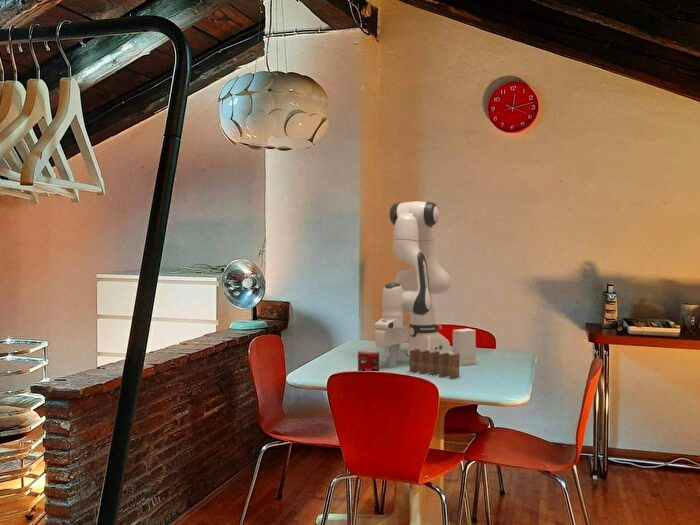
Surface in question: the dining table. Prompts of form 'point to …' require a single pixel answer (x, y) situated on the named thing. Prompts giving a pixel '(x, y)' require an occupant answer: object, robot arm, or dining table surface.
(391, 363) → the domino
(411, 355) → the domino
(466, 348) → the skincare box
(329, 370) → the dining table surface
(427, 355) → the domino
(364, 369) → the canned food
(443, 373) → the domino
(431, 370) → the domino
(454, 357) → the domino
